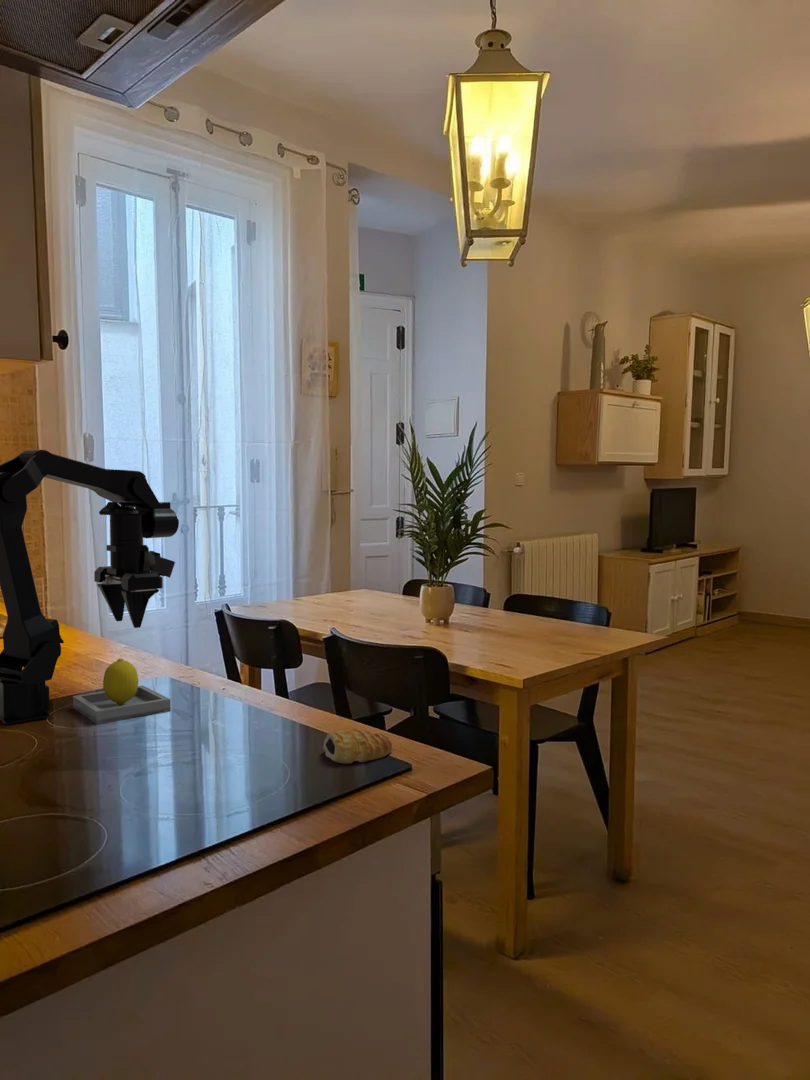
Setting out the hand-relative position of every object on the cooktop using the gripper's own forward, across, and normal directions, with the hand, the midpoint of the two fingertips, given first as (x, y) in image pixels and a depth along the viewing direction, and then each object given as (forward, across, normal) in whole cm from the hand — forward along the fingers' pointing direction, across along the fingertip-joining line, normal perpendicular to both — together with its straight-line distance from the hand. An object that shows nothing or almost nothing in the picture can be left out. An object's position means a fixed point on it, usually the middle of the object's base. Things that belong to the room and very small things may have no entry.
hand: (128, 624), depth 143 cm
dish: (+12, -13, +6) cm, 19 cm away
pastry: (+12, -56, -11) cm, 58 cm away
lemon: (+12, -13, +6) cm, 18 cm away
